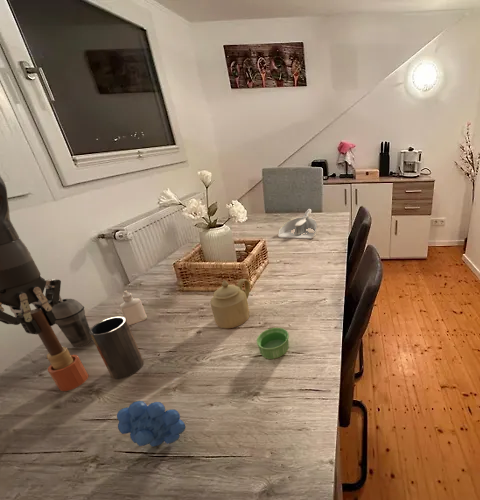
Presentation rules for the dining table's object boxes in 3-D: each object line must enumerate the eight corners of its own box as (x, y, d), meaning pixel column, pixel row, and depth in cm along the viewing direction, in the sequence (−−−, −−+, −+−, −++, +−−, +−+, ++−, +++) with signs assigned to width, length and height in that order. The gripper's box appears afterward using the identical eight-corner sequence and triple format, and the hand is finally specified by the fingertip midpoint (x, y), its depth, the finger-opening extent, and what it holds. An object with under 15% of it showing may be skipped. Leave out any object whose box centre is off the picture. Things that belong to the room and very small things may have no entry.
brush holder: (62, 396, 69) (49, 375, 66) (58, 385, 72) (45, 364, 69) (91, 381, 73) (80, 361, 70) (86, 371, 76) (75, 351, 73)
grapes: (116, 470, 53) (91, 428, 49) (137, 434, 60) (116, 395, 55) (180, 461, 55) (162, 420, 50) (194, 427, 61) (179, 388, 56)
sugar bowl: (223, 304, 104) (214, 268, 98) (254, 301, 105) (247, 265, 99) (211, 330, 90) (200, 290, 84) (246, 326, 92) (238, 287, 86)
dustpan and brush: (276, 237, 167) (274, 222, 163) (295, 221, 196) (294, 207, 193) (313, 239, 163) (312, 223, 159) (327, 221, 193) (326, 208, 189)
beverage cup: (97, 332, 91) (71, 278, 83) (100, 342, 86) (72, 287, 78) (67, 343, 86) (36, 287, 78) (68, 355, 82) (35, 297, 74)
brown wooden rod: (60, 381, 69) (23, 318, 61) (57, 374, 71) (21, 312, 63) (79, 372, 71) (46, 310, 64) (76, 365, 73) (43, 304, 66)
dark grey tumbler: (116, 385, 72) (93, 339, 66) (108, 372, 76) (85, 327, 70) (148, 367, 77) (129, 323, 71) (139, 356, 81) (120, 313, 75)
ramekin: (257, 344, 84) (254, 332, 82) (286, 335, 87) (285, 324, 85) (260, 365, 76) (258, 352, 75) (293, 354, 80) (291, 342, 78)
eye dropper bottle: (145, 322, 95) (133, 292, 90) (125, 327, 93) (112, 296, 88) (148, 315, 99) (137, 286, 94) (129, 319, 97) (116, 290, 92)
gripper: (30, 248, 65) (62, 310, 72) (-57, 277, 53) (-9, 349, 60) (57, 250, 64) (87, 312, 71) (-25, 280, 52) (20, 352, 59)
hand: (43, 328), depth 65 cm, fingers closed on brown wooden rod, 2 cm apart
